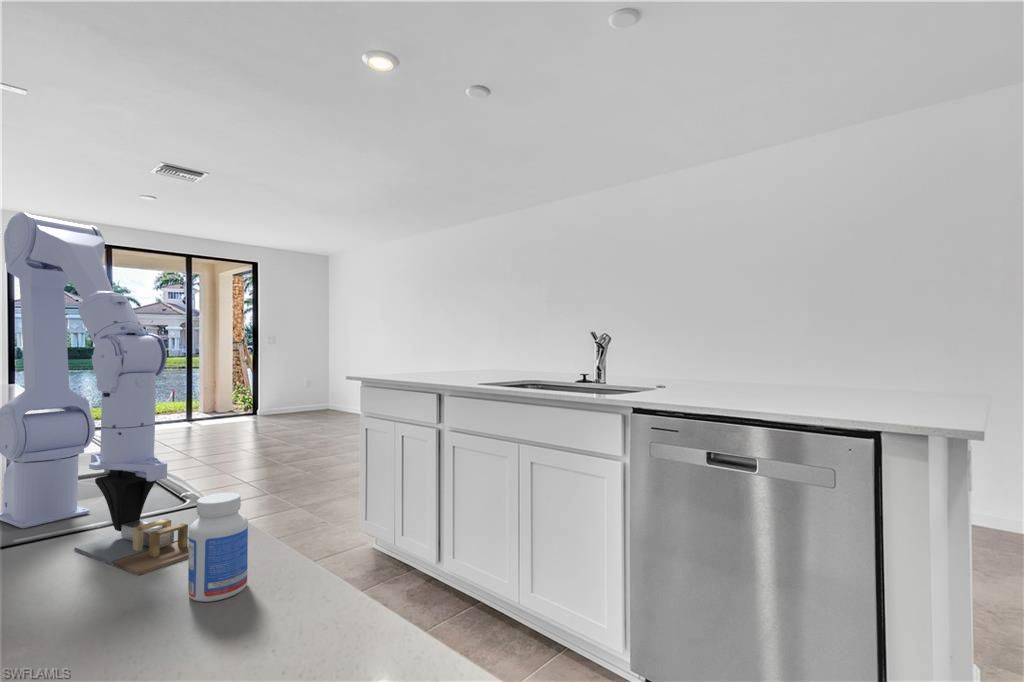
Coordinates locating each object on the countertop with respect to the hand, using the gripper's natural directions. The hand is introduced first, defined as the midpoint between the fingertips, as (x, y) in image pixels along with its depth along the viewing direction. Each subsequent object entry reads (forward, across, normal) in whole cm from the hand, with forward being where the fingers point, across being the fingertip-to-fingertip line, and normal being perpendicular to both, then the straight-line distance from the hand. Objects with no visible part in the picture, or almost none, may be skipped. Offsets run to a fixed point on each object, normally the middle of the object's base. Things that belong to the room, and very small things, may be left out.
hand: (126, 528), depth 67 cm
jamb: (+2, +10, 0) cm, 11 cm away
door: (+1, +3, 0) cm, 3 cm away
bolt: (+1, +5, 0) cm, 5 cm away
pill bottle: (+2, +24, -3) cm, 24 cm away
